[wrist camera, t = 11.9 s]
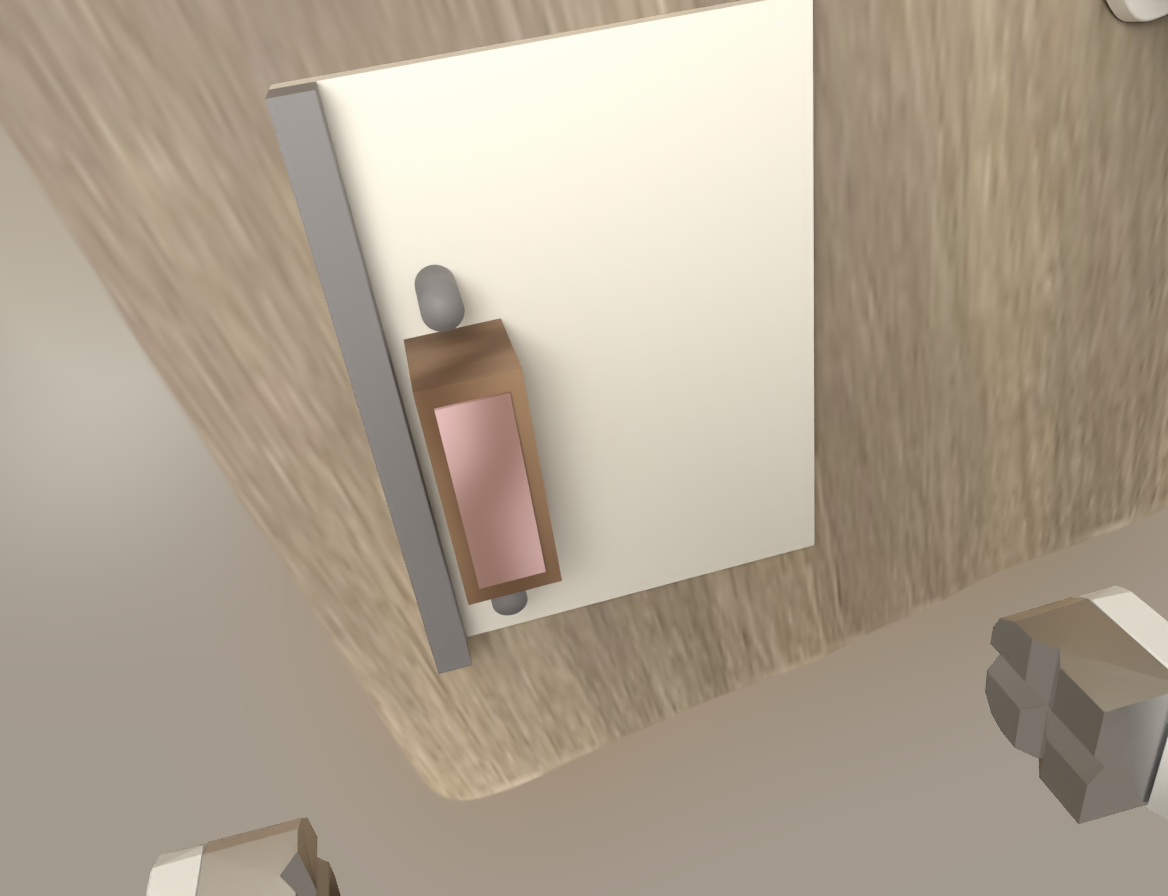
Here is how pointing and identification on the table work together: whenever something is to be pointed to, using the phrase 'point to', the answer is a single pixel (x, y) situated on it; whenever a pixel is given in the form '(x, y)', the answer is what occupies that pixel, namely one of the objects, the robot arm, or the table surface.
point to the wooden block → (484, 458)
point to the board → (584, 284)
